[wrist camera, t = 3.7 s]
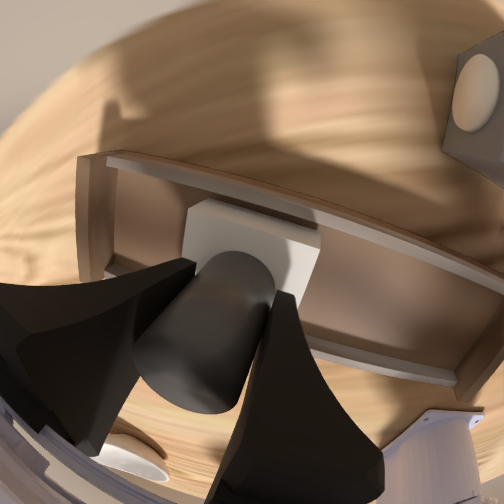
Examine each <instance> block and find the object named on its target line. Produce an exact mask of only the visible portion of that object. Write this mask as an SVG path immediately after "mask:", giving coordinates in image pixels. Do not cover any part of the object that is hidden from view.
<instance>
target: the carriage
mask: <svg viewBox="0 0 504 504" xmlns="http://www.w3.org/2000/svg"><path fill="white" fill-rule="evenodd" d="M320 246H321V232H320V231H317V230H314V229H311V228H308V227H304V226H301V225H298V224H295V223H292V222H289V221H286V220H282V219H279V218H276V217H273V216H269V215H266V214H263V213H259V212H256V211H253V210H249V209H246V208H243V207H239V206H236V205H232V204H229V203H225V202H222V201H218V200H215V199H211V198H207V199H205V200H203V201H201V202H200V203H198V204H196V205H194V206H192V207H190V208H188V213H187V219H186V226H185V233H184V240H183V248H182V256H181V257H183V258H186V259H189V260H192V261H194V262H197V265H196V272H195V276H194V277H193V278H192V279H191V280H190V282H189V283H188V284H187V285H186V286H185V287H184V288H183V289H182V290H181V291H180V293H179V294H178V295H177V296H176V297H175V298H174V299H173V300H172V301H171V303H170V304H169V305H168V306H167V307H166V308H165V309H164V310H163V311H162V313H161V314H160V315H159V316H158V317H157V318H156V319H155V320H154V322H153V323H152V324H151V325H150V326H149V327H148V328H147V329H146V331H145V332H144V333H143V334H142V335H141V336H140V337H139V339H138V340H137V341H136V342H135V344H134V346H133V351H132V356H133V361H134V364H135V367H136V369H137V371H138V372H139V374H140V376H141V377H142V378H143V380H144V381H145V382H146V383H147V384H148V386H149V387H150V388H151V389H153V390H154V391H155V392H156V393H157V394H158V395H160V396H161V397H163V398H164V399H166V400H167V401H169V402H171V403H172V404H174V405H176V406H178V407H180V408H183V409H186V410H189V411H192V412H196V413H201V414H220V413H224V412H227V411H229V410H231V409H232V408H234V406H235V405H236V404H237V402H238V400H239V397H240V395H241V392H242V389H243V387H244V384H245V381H246V378H247V376H248V373H249V370H250V367H251V364H252V362H253V359H254V356H255V353H256V350H257V348H258V345H259V342H260V339H261V336H262V333H263V330H264V327H265V324H266V321H267V318H268V315H269V312H270V309H271V306H272V304H273V301H274V298H275V295H276V292H277V289H278V290H281V291H284V292H287V293H290V294H293V295H294V296H295V298H296V304H297V309H298V307H299V304H300V302H301V299H302V297H303V294H304V292H305V289H306V287H307V284H308V281H309V279H310V276H311V274H312V271H313V268H314V266H315V263H316V260H317V257H318V255H319V252H320Z"/></svg>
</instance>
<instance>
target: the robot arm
mask: <svg viewBox="0 0 504 504" xmlns="http://www.w3.org/2000/svg"><path fill="white" fill-rule="evenodd" d="M196 265H197V262H194V261H192V260H189V259H186V258H183V257H181V258H177V259H173V260H170V261H167V262H164V263H161V264H158V265H155V266H151V267H148V268H145V269H142V270H139V271H135V272H132V273H128V274H124V275H121V276H117V277H113V278H109V279H104V280H99V281H94V282H88V283H80V284H70V285H59V286H26V285H15V284H6V283H0V504H86V503H84V502H83V501H81V500H80V499H78V498H77V497H75V496H74V495H73V494H71V493H70V492H68V491H67V490H66V489H64V488H63V487H62V486H60V485H59V484H58V483H57V482H55V481H54V480H53V479H51V478H50V477H49V476H48V475H46V474H45V470H46V469H47V468H48V466H49V465H50V464H49V461H47V460H46V459H45V458H44V457H43V456H42V455H41V454H39V452H38V451H37V450H36V449H35V448H33V447H32V446H31V445H30V444H29V442H28V441H27V440H26V439H25V438H24V437H23V436H22V435H21V434H20V433H19V432H18V431H17V430H16V429H15V428H14V427H13V419H14V420H15V421H16V422H17V423H18V424H19V425H20V426H21V427H22V428H23V429H24V430H25V431H26V432H27V433H28V434H29V435H30V436H31V437H32V438H33V439H34V440H35V441H36V442H38V443H39V444H40V445H41V446H42V447H43V448H44V449H46V450H47V451H48V452H49V453H50V454H51V455H53V456H54V457H55V458H56V459H58V460H59V461H60V462H62V463H63V464H64V465H65V466H67V467H68V468H69V469H71V470H72V471H73V472H75V473H76V474H77V475H79V476H80V477H82V478H83V479H85V480H86V481H88V482H89V483H91V484H92V485H94V486H95V487H97V488H98V489H100V490H102V491H103V492H105V493H107V494H108V495H110V496H112V497H113V498H115V499H117V500H119V501H121V502H122V503H124V504H176V503H174V502H172V501H169V500H167V499H164V498H162V497H160V496H158V495H155V494H153V493H151V492H149V491H147V490H145V489H143V488H141V487H139V486H137V485H135V484H133V483H131V482H129V481H127V480H126V479H124V478H122V477H120V476H119V475H117V474H115V473H113V472H112V471H110V470H108V469H107V468H105V467H103V466H102V465H100V464H99V463H97V462H96V461H94V460H93V459H91V458H90V457H96V456H99V454H100V451H101V449H102V447H103V445H104V442H105V440H106V438H107V436H108V434H109V431H110V429H111V427H112V425H113V423H114V421H115V419H116V417H117V415H118V414H119V412H120V410H121V408H122V406H123V404H124V403H125V401H126V399H127V397H128V395H129V394H130V392H131V390H132V389H133V387H134V385H135V384H136V382H137V380H138V379H139V377H140V374H139V372H138V371H137V369H136V367H135V364H134V361H133V356H132V351H133V346H134V344H135V342H136V341H137V340H138V339H139V337H140V336H141V335H142V334H143V333H144V332H145V331H146V329H147V328H148V327H149V326H150V325H151V324H152V323H153V322H154V320H155V319H156V318H157V317H158V316H159V315H160V314H161V313H162V311H163V310H164V309H165V308H166V307H167V306H168V305H169V304H170V303H171V301H172V300H173V299H174V298H175V297H176V296H177V295H178V294H179V293H180V291H181V290H182V289H183V288H184V287H185V286H186V285H187V284H188V283H189V282H190V280H191V279H192V278H193V277H194V276H195V272H196ZM484 416H485V415H484V412H461V411H445V410H434V409H431V410H428V411H426V412H425V413H424V414H423V415H422V416H421V417H420V418H419V419H418V420H417V421H416V422H414V423H413V424H412V425H411V426H410V427H409V428H408V429H407V430H406V431H404V432H403V433H402V434H401V435H400V436H399V437H397V438H396V439H395V440H394V441H393V442H391V443H390V444H389V445H388V446H386V447H385V448H384V449H382V450H380V449H379V448H378V447H377V446H376V445H375V444H374V443H373V442H372V441H371V440H370V439H369V438H368V437H367V436H366V435H365V434H364V433H363V432H362V431H361V430H360V429H359V428H358V426H357V425H356V424H355V423H354V422H353V420H352V419H351V418H350V417H349V415H348V414H347V413H346V412H345V410H344V409H343V408H342V406H341V405H340V403H339V402H338V400H337V399H336V397H335V396H334V394H333V393H332V391H331V390H330V388H329V387H328V385H327V383H326V382H325V380H324V378H323V376H322V374H321V372H320V371H319V369H318V367H317V364H316V362H315V360H314V358H313V356H312V353H311V351H310V348H309V346H308V343H307V340H306V338H305V334H304V331H303V328H302V325H301V322H300V318H299V314H298V310H297V304H296V298H295V296H294V295H293V294H290V293H287V292H284V291H281V290H278V289H277V292H276V295H275V298H274V301H273V304H272V306H271V309H270V312H269V315H268V318H267V321H266V324H265V327H264V330H263V333H262V336H261V339H260V342H259V345H258V348H257V350H256V353H255V356H254V360H253V364H252V368H251V373H250V377H249V381H248V385H247V389H246V393H245V397H244V401H243V405H242V408H241V412H240V415H239V418H238V420H237V423H236V426H235V428H234V431H233V434H232V436H231V439H230V441H229V444H228V446H227V449H226V452H225V454H224V457H223V459H222V462H221V464H220V467H219V469H218V471H217V474H216V476H215V479H214V481H213V483H212V486H211V488H210V490H209V493H208V495H207V497H206V500H205V502H204V504H368V503H370V502H372V501H374V500H375V499H377V500H376V504H499V502H498V499H496V498H493V497H489V498H488V499H486V500H485V498H484V497H482V490H481V482H480V476H479V470H478V464H477V459H476V454H475V449H474V445H473V441H472V437H471V433H470V430H471V429H472V428H473V427H474V426H475V425H476V424H477V423H479V422H480V421H481V420H482V419H483V418H484Z"/></svg>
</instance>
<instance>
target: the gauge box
mask: <svg viewBox="0 0 504 504" xmlns="http://www.w3.org/2000/svg"><path fill="white" fill-rule="evenodd" d="M441 151H442V152H443V153H445V154H447V155H449V156H451V157H453V158H455V159H456V160H458V161H460V162H462V163H463V164H465V165H467V166H469V167H470V168H472V169H474V170H475V171H477V172H479V173H480V174H482V175H483V176H485V177H486V178H488V179H490V180H491V181H493V182H494V183H496V184H497V185H499V186H500V187H501V188H503V189H504V31H502V32H500V33H498V34H496V35H494V36H492V37H491V38H489V39H487V40H485V41H483V42H481V43H479V44H478V45H476V46H474V47H472V48H470V49H468V50H467V51H465V52H463V53H461V54H460V55H458V65H457V74H456V81H455V88H454V94H453V100H452V105H451V110H450V115H449V120H448V125H447V129H446V133H445V137H444V141H443V145H442V149H441Z"/></svg>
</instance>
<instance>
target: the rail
mask: <svg viewBox="0 0 504 504" xmlns="http://www.w3.org/2000/svg"><path fill="white" fill-rule="evenodd" d="M207 198H211V199H215V200H218V201H222V202H225V203H229V204H232V205H236V206H239V207H243V208H246V209H249V210H253V211H256V212H259V213H263V214H266V215H269V216H273V217H276V218H279V219H282V220H286V221H289V222H292V223H295V224H298V225H301V226H304V227H308V228H311V229H314V230H317V231H320V232H321V246H320V252H319V255H318V257H317V260H316V263H315V266H314V268H313V271H312V274H311V276H310V279H309V281H308V284H307V287H306V289H305V292H304V294H303V297H302V299H301V302H300V304H299V307H298V309H297V310H298V314H299V318H300V322H301V325H302V328H303V331H304V334H305V338H306V340H307V343H308V346H309V348H310V351H311V353H312V356H313V357H314V358H318V359H321V360H325V361H328V362H332V363H336V364H340V365H344V366H348V367H352V368H356V369H360V370H364V371H369V372H373V373H377V374H382V375H387V376H392V377H396V378H401V379H407V380H412V381H417V382H423V383H429V384H435V385H442V386H448V387H453V388H454V392H455V395H456V398H457V401H461V402H468V401H469V400H470V399H471V398H472V397H473V396H474V395H475V394H476V393H477V391H478V390H479V389H480V388H481V387H482V386H483V385H484V384H485V382H486V381H487V380H488V379H489V378H490V377H491V375H492V374H493V373H494V372H495V370H496V369H497V368H498V367H499V365H500V364H501V363H502V361H503V360H504V275H503V274H501V273H499V272H497V271H495V270H493V269H491V268H489V267H487V266H485V265H483V264H481V263H479V262H477V261H475V260H473V259H471V258H469V257H466V256H464V255H462V254H460V253H458V252H456V251H453V250H451V249H449V248H447V247H444V246H442V245H440V244H437V243H435V242H433V241H430V240H428V239H426V238H423V237H421V236H418V235H416V234H414V233H411V232H409V231H406V230H404V229H401V228H399V227H396V226H393V225H391V224H388V223H386V222H383V221H380V220H378V219H375V218H372V217H370V216H367V215H364V214H361V213H358V212H356V211H353V210H350V209H347V208H344V207H341V206H338V205H335V204H332V203H329V202H326V201H323V200H320V199H317V198H314V197H311V196H308V195H305V194H301V193H298V192H295V191H291V190H288V189H285V188H281V187H278V186H275V185H271V184H268V183H264V182H261V181H257V180H253V179H250V178H246V177H242V176H238V175H235V174H231V173H227V172H223V171H219V170H215V169H211V168H206V167H202V166H198V165H194V164H189V163H185V162H180V161H176V160H171V159H166V158H161V157H156V156H151V155H146V154H141V153H135V152H130V151H124V150H116V151H108V152H102V153H96V154H90V155H84V156H78V157H77V169H76V194H75V218H76V244H77V258H78V269H79V278H80V281H81V282H83V283H88V282H94V281H99V280H102V279H103V278H106V279H109V278H113V277H117V276H121V275H124V274H128V273H132V272H135V271H139V270H142V269H145V268H148V267H151V266H155V265H158V264H161V263H164V262H167V261H170V260H173V259H177V258H181V256H182V248H183V240H184V233H185V226H186V219H187V213H188V208H190V207H192V206H194V205H196V204H198V203H200V202H201V201H203V200H205V199H207Z"/></svg>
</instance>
